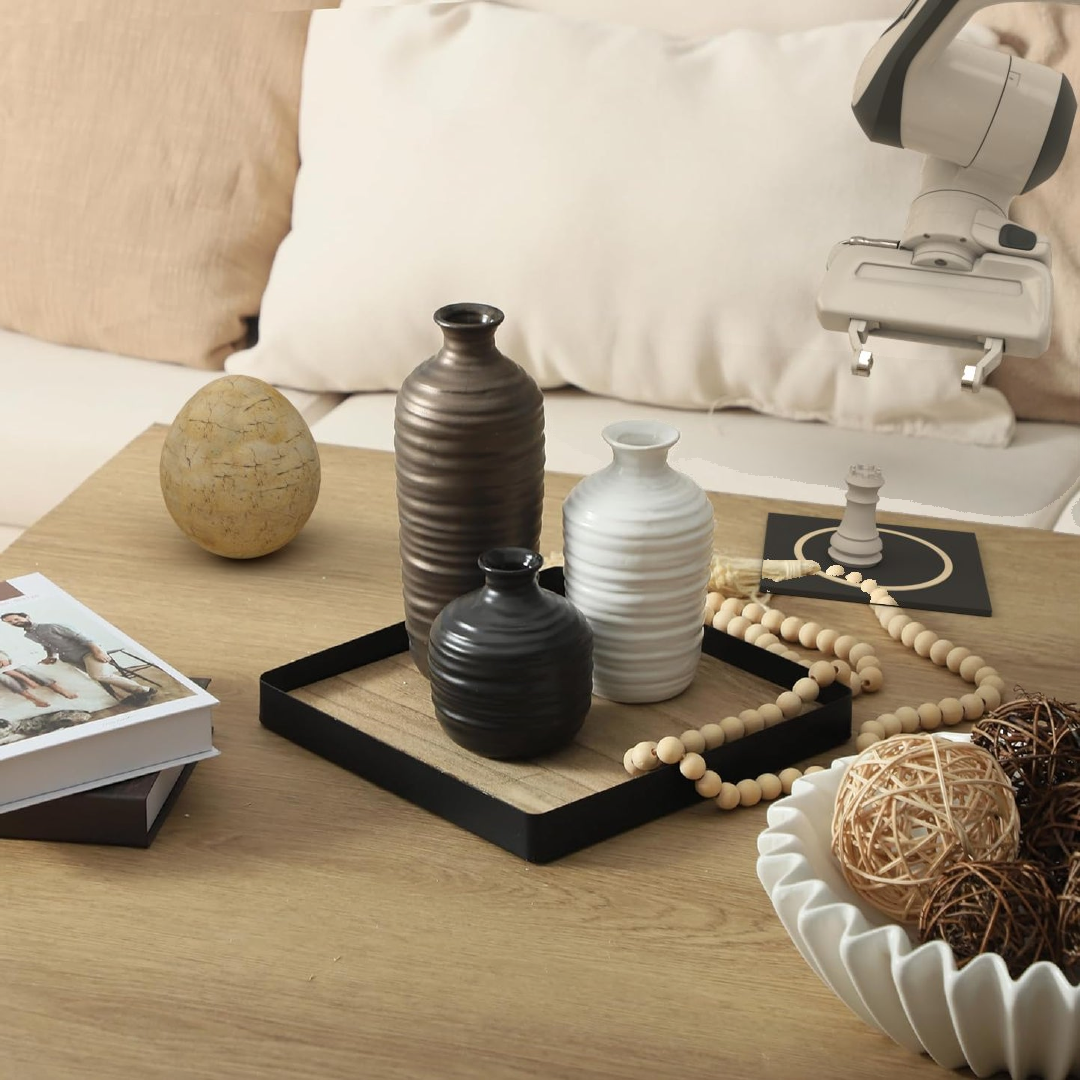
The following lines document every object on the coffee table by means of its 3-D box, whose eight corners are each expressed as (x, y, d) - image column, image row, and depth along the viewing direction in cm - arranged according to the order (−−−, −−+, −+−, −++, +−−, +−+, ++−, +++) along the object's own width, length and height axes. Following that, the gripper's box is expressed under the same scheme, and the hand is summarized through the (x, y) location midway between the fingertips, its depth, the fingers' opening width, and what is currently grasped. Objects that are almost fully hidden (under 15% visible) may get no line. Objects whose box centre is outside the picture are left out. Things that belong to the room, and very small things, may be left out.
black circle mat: (974, 538, 129) (975, 531, 129) (991, 617, 115) (992, 608, 115) (767, 518, 132) (768, 510, 132) (759, 592, 118) (759, 583, 117)
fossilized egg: (242, 511, 130) (233, 345, 124) (354, 546, 123) (351, 373, 117) (132, 558, 120) (117, 380, 114) (248, 598, 113) (239, 412, 107)
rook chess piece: (847, 543, 125) (858, 455, 122) (892, 560, 123) (904, 470, 119) (816, 557, 123) (827, 467, 119) (861, 574, 120) (873, 482, 116)
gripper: (832, 213, 132) (791, 345, 128) (1069, 239, 125) (1035, 380, 120) (838, 254, 138) (800, 381, 133) (1066, 281, 130) (1033, 417, 126)
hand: (913, 381), depth 127 cm, fingers open, 8 cm apart
